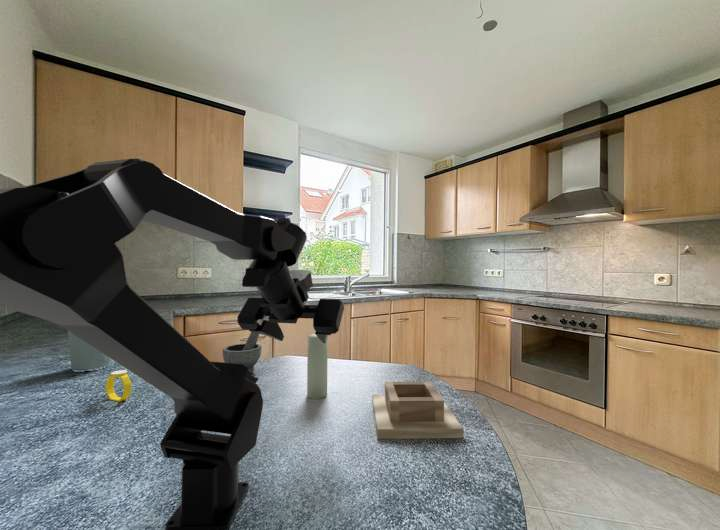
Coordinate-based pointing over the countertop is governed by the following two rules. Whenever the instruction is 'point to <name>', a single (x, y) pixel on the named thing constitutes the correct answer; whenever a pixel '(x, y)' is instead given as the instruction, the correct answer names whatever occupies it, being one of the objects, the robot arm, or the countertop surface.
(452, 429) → the socket base
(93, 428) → the countertop surface
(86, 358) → the grey plant pot
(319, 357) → the post
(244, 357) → the mortar and pestle
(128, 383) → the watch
